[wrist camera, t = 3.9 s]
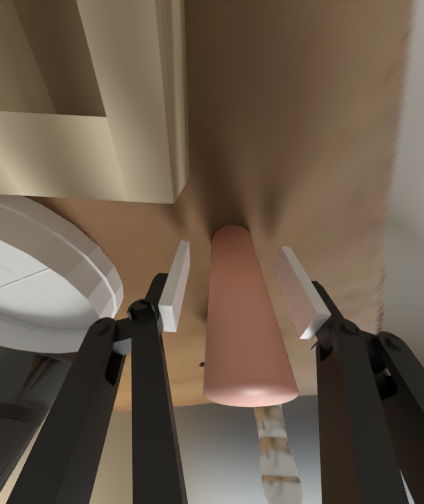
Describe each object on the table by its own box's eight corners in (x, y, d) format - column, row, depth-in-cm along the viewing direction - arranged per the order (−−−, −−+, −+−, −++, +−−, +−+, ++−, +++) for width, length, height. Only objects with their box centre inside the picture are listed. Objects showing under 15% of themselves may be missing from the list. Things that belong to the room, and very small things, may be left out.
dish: (51, 330, 29) (25, 362, 25) (-138, 225, 17) (-246, 254, 13) (157, 303, 24) (145, 339, 20) (-15, 124, 12) (-135, 120, 8)
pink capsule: (210, 256, 18) (202, 404, 8) (212, 223, 16) (203, 375, 6) (247, 259, 18) (282, 408, 8) (255, 225, 16) (315, 381, 6)
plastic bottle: (253, 374, 38) (280, 556, 22) (281, 377, 38) (327, 556, 22) (244, 383, 42) (261, 544, 25) (270, 386, 42) (302, 544, 26)
